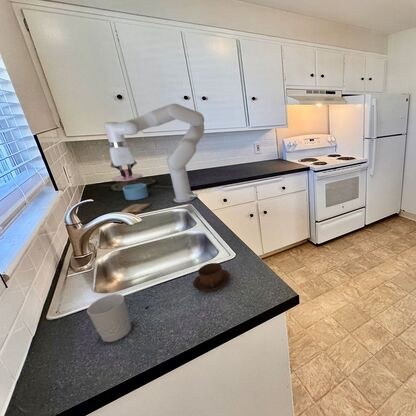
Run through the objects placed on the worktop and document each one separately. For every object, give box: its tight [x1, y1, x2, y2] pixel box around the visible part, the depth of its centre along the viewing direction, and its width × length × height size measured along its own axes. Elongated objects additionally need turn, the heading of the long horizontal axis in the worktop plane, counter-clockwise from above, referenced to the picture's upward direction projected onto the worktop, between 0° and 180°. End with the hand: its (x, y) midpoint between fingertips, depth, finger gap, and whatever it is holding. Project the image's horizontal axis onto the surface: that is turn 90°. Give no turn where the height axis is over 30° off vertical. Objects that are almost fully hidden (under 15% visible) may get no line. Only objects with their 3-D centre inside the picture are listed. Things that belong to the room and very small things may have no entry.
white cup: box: [86, 293, 132, 343], centre depth 73 cm, size 8×8×10 cm
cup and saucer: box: [192, 262, 231, 292], centre depth 94 cm, size 12×12×6 cm
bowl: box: [122, 184, 149, 201], centre depth 185 cm, size 14×14×8 cm
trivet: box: [121, 203, 151, 213], centre depth 165 cm, size 11×11×1 cm
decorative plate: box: [110, 178, 157, 192], centre depth 213 cm, size 30×2×30 cm
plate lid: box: [111, 168, 143, 182], centre depth 158 cm, size 15×15×6 cm
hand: (127, 175), depth 159 cm, fingers closed on plate lid, 2 cm apart
